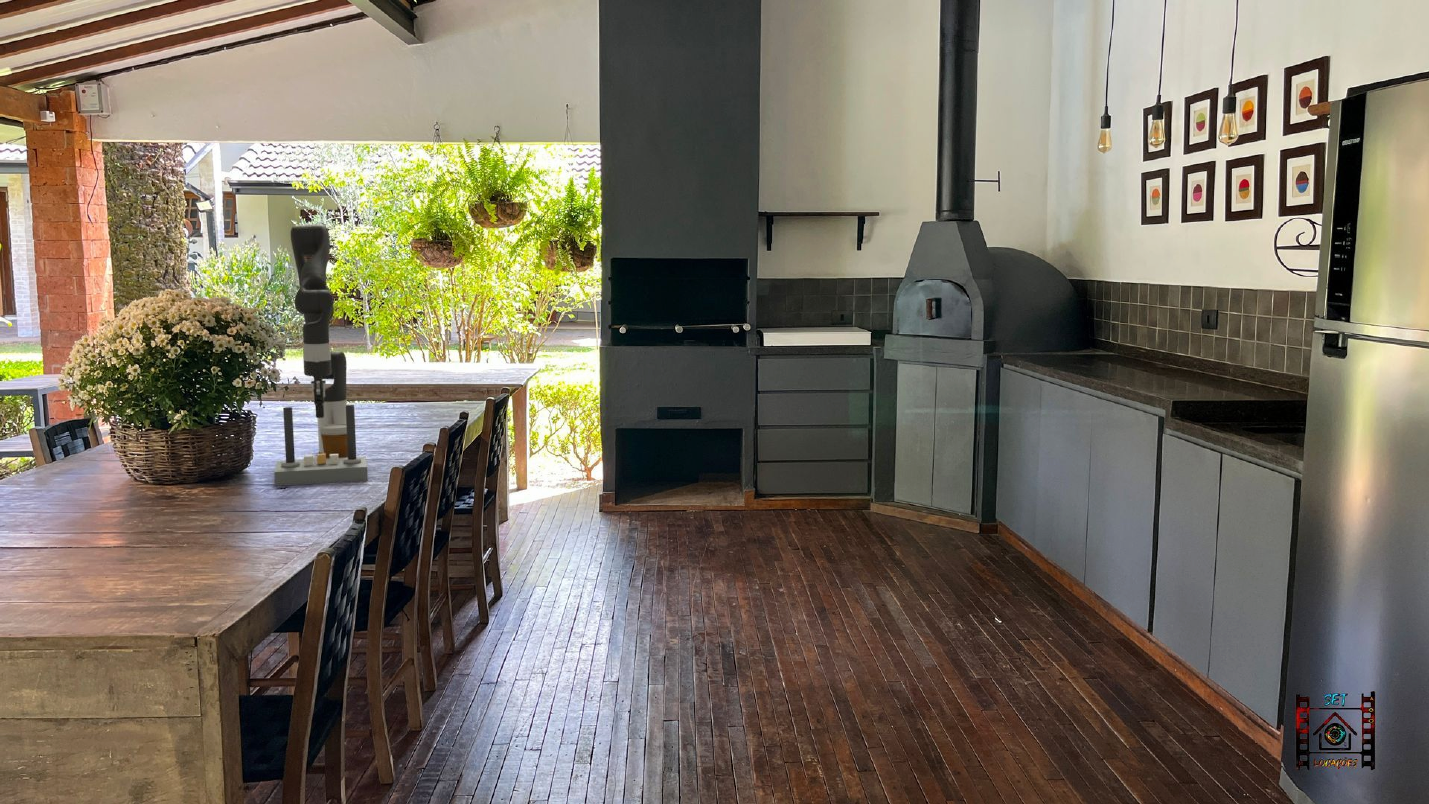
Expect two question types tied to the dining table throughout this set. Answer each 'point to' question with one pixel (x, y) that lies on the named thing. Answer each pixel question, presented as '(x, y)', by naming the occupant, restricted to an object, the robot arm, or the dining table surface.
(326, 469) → the panel
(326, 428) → the disposable coffee cup
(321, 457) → the orange small block
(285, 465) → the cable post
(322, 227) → the robot arm
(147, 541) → the dining table surface
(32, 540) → the dining table surface
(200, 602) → the dining table surface
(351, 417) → the cable post
